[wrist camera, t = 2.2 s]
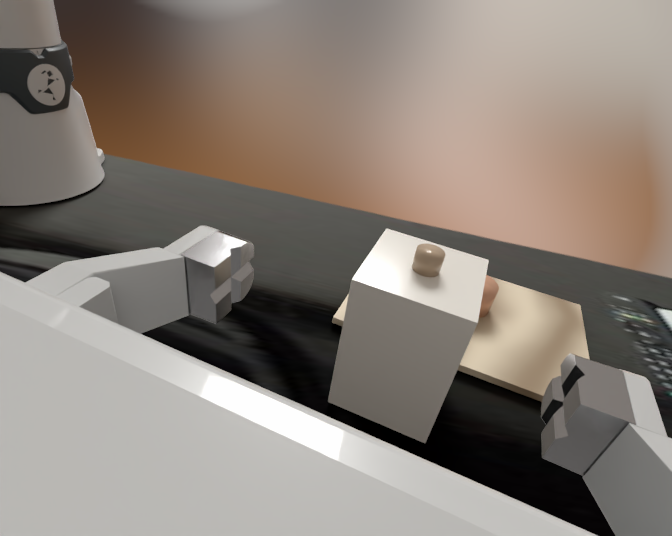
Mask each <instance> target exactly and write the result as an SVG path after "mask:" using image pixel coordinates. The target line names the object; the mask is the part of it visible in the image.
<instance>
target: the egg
mask: <svg viewBox="0 0 672 536" xmlns="http://www.w3.org/2000/svg"><path fill="white" fill-rule="evenodd" d="M498 290H499V286H498V284H497V282H496V281H495V280H494V279H492V278H491V277H490V276H488V275H486V278H485V284H484V290H483V296H482V301H481V307H480V313H479V318H481V317H484V316H486V315H487V314H488V313H489V310H490V308H491V306H492V304H493V302H494V299H495V297H496V295H497V293H498Z"/></svg>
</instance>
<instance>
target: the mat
mask: <svg viewBox="0 0 672 536" xmlns="http://www.w3.org/2000/svg"><path fill="white" fill-rule="evenodd" d="M491 278H492V279H494V280H495V281H496V282H497V284H498V286H499V290H498V293H497V295H496V297H495V299H494V302H493V304H492V306H491V308H490V310H489V313H488V314H487V315H486V316H484V317H481V318H479V319H478V324H477V326H476V328H475V330H474V333H473V335H472V337H471V340H470V342H469V344H468V347H467V349H466V351H465V353H464V356H463V358H462V360H461V363H460V365H459V367H458V369H457V370H459V371H461V372H464V373H467V374H469V375H472V376H474V377H477V378H480V379H482V380H485V381H488V382H490V383H493V384H496V385H498V386H501V387H504V388H506V389H509V390H511V391H514V392H517V393H519V394H522V395H525V396H527V397H530V398H533V399H535V400H538V401H541V402H542V399H543V397H544V394H545V391H546V388H547V387H548V385H549V383H550V381H551V380H552V379H553V378H556V377H558V376H561V366H560V365H561V364H562V362H563V361H564V359H565V358H566V357H567V356H568V355H569V354H570V353H571V354H574V355H577V356H580V357H583V358H586V359H589V353H588V347H587V342H586V336H585V330H584V324H583V318H582V312H581V307H580V305H578V304H575V303H572V302H569V301H566V300H562V299H559V298H556V297H553V296H550V295H547V294H544V293H540V292H537V291H534V290H531V289H528V288H525V287H521V286H518V285H515V284H512V283H509V282H506V281H503V280H499V279H496V278H493V277H491ZM348 296H349V294H348V295H347V297H346V299H345V300H344V302H343V303H342V305H341V306H340V308H339V309H338V311H337V312H336V314H335V315H334V317H333V321H332V323H334V324H337V325H340V326H342V327H343V322H344V316H345V311H346V306H347V301H348ZM589 360H590V359H589Z"/></svg>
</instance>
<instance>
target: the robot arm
mask: <svg viewBox="0 0 672 536" xmlns="http://www.w3.org/2000/svg"><path fill="white" fill-rule="evenodd" d="M71 65H72V61H71V57H70V56H69V53H68V49H67V45H66V43H64V42H63V41H62V40H61V38H60V33H59V28H58V24H57V18H56V13H55V8H54V3H53V0H0V206H20V205H33V204H41V203H48V202H54V201H58V200H63V199H67V198H70V197H74V196H77V195H79V194H82V193H84V192H87V191H89V190H91V189H93V188H94V187H96V186H97V185H98V184H99V183H100V182H101V181H102V180H103V178H104V170H103V168H102V166H101V164H102V163H103V161H104V159H105V157H104V154H103V151H102V150H101V149H98V148H96V144H95V141H94V138H93V134H92V131H91V127H90V124H89V121H88V117H87V114H86V111H85V107H84V104H83V101H82V98H81V96H80V94H79V93H78V92H77V91H75V90H74V89H73V87H72V86H71V82H72V81H73V80H74V76H73V71H72V66H71ZM253 257H254V246H253V244H252V243H251V242H249V241H247V240H244V239H241V238H239V237H236V236H233V235H230V234H228V233H225V232H222V231H219V230H217V229H214V228H211V227H208V226H199V227H198V228H196V229H195V230H193V231H191V232H190V233H188V234H186V235H185V236H183V237H182V238H180V239H178V240H177V241H175V242H173V243H172V244H170V245H169V246H167V247H165V248H164V249H162V248H159V247H157V248H151V249H144V250H138V251H132V252H126V253H119V254H113V255H107V256H100V257H94V258H88V259H82V260H75V261H69V262H64V263H62V264H60V265H58V266H56V267H54V268H52V269H51V270H49V271H47V272H45V273H43V274H41V275H39V276H37V277H35V278H33V279H31V280H29V281H28V282H26V283H24V282H22V281H20V280H17V279H15V278H13V277H10V276H8V275H6V274H4V273H1V272H0V536H597V535H595V534H593V533H590V532H588V531H586V530H584V529H581V528H579V527H577V526H575V525H572V524H570V523H568V522H566V521H563V520H561V519H559V518H556V517H554V516H552V515H550V514H547V513H545V512H543V511H541V510H538V509H536V508H534V507H532V506H529V505H527V504H525V503H522V502H520V501H518V500H516V499H513V498H511V497H509V496H507V495H504V494H502V493H500V492H498V491H495V490H493V489H491V488H488V487H486V486H484V485H482V484H479V483H477V482H475V481H473V480H470V479H468V478H466V477H464V476H461V475H459V474H457V473H454V472H452V471H450V470H448V469H445V468H443V467H441V466H439V465H436V464H434V463H432V462H430V461H427V460H425V459H423V458H421V457H418V456H416V455H414V454H411V453H409V452H407V451H405V450H402V449H400V448H398V447H396V446H393V445H391V444H389V443H387V442H384V441H382V440H380V439H378V438H375V437H373V436H371V435H368V434H366V433H364V432H362V431H359V430H357V429H355V428H353V427H350V426H348V425H346V424H344V423H341V422H339V421H337V420H335V419H332V418H330V417H328V416H326V415H323V414H321V413H319V412H316V411H314V410H312V409H310V408H307V407H305V406H303V405H301V404H298V403H296V402H294V401H292V400H289V399H287V398H285V397H283V396H280V395H278V394H276V393H273V392H271V391H269V390H267V389H264V388H262V387H260V386H258V385H255V384H253V383H251V382H248V381H246V380H244V379H242V378H239V377H237V376H235V375H232V374H230V373H228V372H226V371H223V370H221V369H219V368H216V367H214V366H212V365H210V364H207V363H205V362H203V361H201V360H198V359H196V358H194V357H191V356H189V355H187V354H185V353H182V352H180V351H178V350H175V349H173V348H171V347H169V346H167V345H164V344H162V343H160V342H158V341H155V340H153V339H151V338H149V337H146V336H144V335H142V334H141V333H143V332H146V331H148V330H151V329H154V328H156V327H159V326H162V325H164V324H167V323H169V322H172V321H175V320H177V319H180V318H183V317H185V316H188V315H189V314H191V315H194V316H197V317H199V318H202V319H205V320H207V321H210V322H213V323H215V324H217V323H218V322H219V321H220V320H221V319H222V318H223V317H224V316H225V315H226V314H227V313H228V312H229V311H230V310H231V303H234V302H237V301H241V300H242V299H243V298H244V297H245V296H246V295H247V293H248V291H249V289H250V287H251V285H252V281H253V274H254V270H253V268H252V266H251V264H250V262H249V261H250V260H251V259H252V258H253ZM560 366H561V376H558V377H556V378H553V379H552V380H551V381H550V383H549V385H548V387H547V388H546V391H545V394H544V397H543V399H542V406H541V418H542V419H543V421H544V422H545V424H546V427H545V428H544V430H543V431H542V433H541V439H542V458H544V459H546V460H548V461H551V462H553V463H555V464H557V465H560V466H562V467H564V468H566V469H569V470H571V471H573V472H576V473H578V474H580V475H582V476H583V479H584V481H585V483H586V484H587V486H588V488H589V490H590V491H591V493H592V495H593V497H594V498H595V500H596V502H597V504H598V505H599V507H600V509H601V511H602V512H603V514H604V516H605V518H606V519H607V521H608V523H609V525H610V527H611V528H612V530H613V532H614V534H615V535H616V536H672V439H671V438H668V437H667V434H666V431H665V428H664V425H663V422H662V419H661V416H660V413H659V410H658V407H657V404H656V401H655V397H654V394H653V391H652V388H651V385H650V382H649V381H648V380H647V379H646V378H645V377H643V376H640V375H637V374H634V373H630V372H627V371H624V370H621V369H616V368H613V367H610V366H607V365H604V364H601V363H598V362H595V361H592V360H589V359H586V358H583V357H580V356H577V355H574V354H571V353H570V354H569V355H568V356H567V357H566V358H565V359H564V361H563V362H562V364H561V365H560Z"/></svg>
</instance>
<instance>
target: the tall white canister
mask: <svg viewBox="0 0 672 536" xmlns="http://www.w3.org/2000/svg"><path fill="white" fill-rule="evenodd" d="M488 261H489V260H487V259H484V258H480V257H477V256H474V255H471V254H467V253H464V252H461V251H458V250H454V249H451V248H448V247H445V246H441V245H438V244H435V243H432V242H428V241H425V240H422V239H419V238H416V237H412V236H409V235H406V234H403V233H399V232H396V231H393V230H390V229H386V230H385V231H384V233H383V234H382V236H381V237H380V239H379V240H378V242H377V243H376V245H375V246H374V247H373V249H372V250H371V252H370V253H369V255H368V256H367V258H366V259H365V261H364V262H363V264H362V265H361V267H360V268H359V269H358V271H357V272H356V274H355V275H354V277H353V278H352V281H351V286H350V291H349V296H348V301H347V306H346V311H345V316H344V322H343V327H342V332H341V337H340V342H339V347H338V352H337V357H336V363H335V368H334V373H333V378H332V383H331V388H330V393H329V398H328V402H329V403H332V404H334V405H336V406H339V407H341V408H343V409H346V410H348V411H350V412H353V413H355V414H357V415H360V416H362V417H364V418H367V419H369V420H371V421H374V422H376V423H378V424H381V425H383V426H385V427H388V428H390V429H392V430H395V431H397V432H399V433H402V434H404V435H406V436H409V437H411V438H413V439H416V440H418V441H420V442H423V443H426V441H427V438H428V436H429V434H430V431H431V429H432V427H433V425H434V422H435V420H436V418H437V415H438V413H439V411H440V409H441V406H442V404H443V402H444V399H445V397H446V395H447V392H448V390H449V388H450V386H451V383H452V381H453V379H454V376H455V374H456V372H457V369H458V367H459V365H460V363H461V360H462V358H463V356H464V353H465V351H466V349H467V347H468V344H469V342H470V340H471V337H472V335H473V333H474V330H475V328H476V326H477V324H478V319H479V313H480V307H481V301H482V296H483V290H484V284H485V278H486V273H487V267H488Z"/></svg>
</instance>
